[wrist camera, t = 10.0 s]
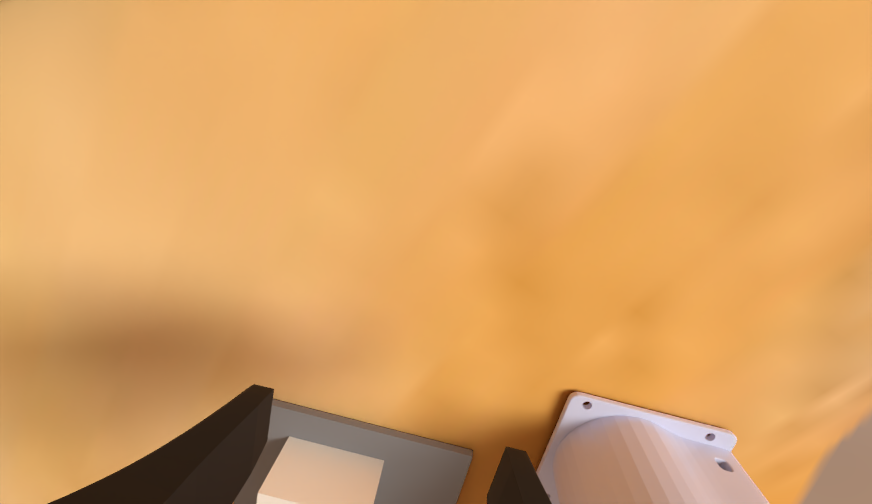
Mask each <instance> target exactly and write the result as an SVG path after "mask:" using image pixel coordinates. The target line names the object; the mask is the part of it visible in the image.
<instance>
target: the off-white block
mask: <svg viewBox="0 0 872 504" xmlns="http://www.w3.org/2000/svg"><path fill="white" fill-rule="evenodd" d="M383 464H384V460H380V459H376V458H372V457H368V456H364V455H360V454H357V453H353V452H349V451H345V450H341V449H337V448H333V447H329V446H325V445H321V444H317V443H313V442H309V441H306V440H302V439H298V438H294V437H290V436H289V438H288V439H287V441H286V443H285V445H284V447H283V448H282V450H281V452H280V454H279V456H278V457H277V459H276V461H275V463H274V465H273V466H272V468H271V470H270V472H269V474H268V475H267V477H266V479H265V481H264V483H263V484H262V486H261V488H260V490H259V492H258V495H257V503H256V504H374V500H375V496H376V492H377V488H378V484H379V480H380V476H381V472H382V468H383Z"/></svg>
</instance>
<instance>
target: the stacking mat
mask: <svg viewBox="0 0 872 504" xmlns="http://www.w3.org/2000/svg"><path fill="white" fill-rule="evenodd" d="M289 436H290V437H294V438H298V439H302V440H306V441H309V442H313V443H317V444H321V445H325V446H329V447H333V448H337V449H341V450H345V451H349V452H353V453H357V454H360V455H364V456H368V457H372V458H376V459H380V460H384V464H383V468H382V472H381V476H380V480H379V484H378V488H377V492H376V496H375V500H374V504H456V503H457V500H458V497H459V494H460V491H461V488H462V486H463V483H464V480H465V477H466V474H467V471H468V469H469V466H470V463H471V460H472V457H473V450H470V449H466V448H462V447H459V446H455V445H451V444H447V443H443V442H439V441H435V440H431V439H427V438H423V437H419V436H416V435H412V434H408V433H404V432H400V431H396V430H392V429H388V428H384V427H380V426H377V425H373V424H369V423H365V422H361V421H357V420H353V419H349V418H345V417H341V416H338V415H334V414H330V413H326V412H322V411H318V410H314V409H310V408H306V407H302V406H298V405H295V404H291V403H287V402H283V401H279V400H275V399H273V400H272V408H271V416H270V424H269V431H268V439H267V443H266V445H265V447H264V449H263V451H262V453H261V455H260V457H259V459H258V461H257V463H256V465H255V467H254V469H253V471H252V473H251V475H250V476H249V478H248V480H247V481H246V483H245V484H244V486H243V488H242V489H241V491H240V492H239V494H238V496H237V497H236V499H235V500H234V504H256V503H257V495H258V492H259V490H260V488H261V486H262V484H263V483H264V481H265V479H266V477H267V475H268V474H269V472H270V470H271V468H272V466H273V465H274V463H275V461H276V459H277V457H278V456H279V454H280V452H281V450H282V448H283V447H284V445H285V443H286V441H287V439H288V438H289Z"/></svg>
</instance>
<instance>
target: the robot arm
mask: <svg viewBox="0 0 872 504" xmlns="http://www.w3.org/2000/svg"><path fill="white" fill-rule="evenodd" d="M273 393H274V389H271V388H267V387H263V386H259V385H255V384H254V385H252V386H250V387H249V388H247V389H246V390H245V391H243V392H242V393H241V394H239V395H238V396H237V397H235V398H234V399H233V400H231V401H230V402H228V403H227V404H226V405H224V406H223V407H221V408H220V409H219V410H217V411H216V412H214V413H213V414H212V415H210V416H209V417H207V418H206V419H204V420H203V421H201V422H200V423H198V424H197V425H195V426H194V427H192V428H191V429H189V430H188V431H186V432H185V433H183V434H181V435H180V436H178V437H177V438H175V439H173V440H172V441H170V442H169V443H167V444H165V445H164V446H162V447H160V448H159V449H157V450H155V451H154V452H152V453H150V454H149V455H147V456H145V457H143V458H141V459H140V460H138V461H136V462H134V463H132V464H131V465H129V466H127V467H125V468H123V469H121V470H119V471H117V472H115V473H113V474H111V475H109V476H107V477H105V478H103V479H101V480H99V481H97V482H95V483H93V484H91V485H89V486H86V487H84V488H82V489H80V490H78V491H76V492H73V493H71V494H69V495H67V496H65V497H62V498H60V499H58V500H55V501H53V502H50V503H48V504H232V503H233V502H234V500H235V499H236V497H237V496H238V494H239V492H240V491H241V489H242V488H243V486H244V484H245V483H246V481H247V480H248V478H249V476H250V475H251V473H252V471H253V469H254V467H255V465H256V463H257V461H258V459H259V457H260V455H261V453H262V451H263V449H264V447H265V445H266V443H267V439H268V431H269V424H270V416H271V408H272V400H273ZM584 402H590V403H589V404H587V405H583V403H584ZM709 433H711V434H710V435H707V434H709ZM706 435H707V436H706ZM736 442H737V438H736V436H735V435H734V434H733V433H732V432H731V431H729V430H726V429H722V428H718V427H714V426H710V425H707V424H703V423H699V422H695V421H691V420H687V419H683V418H679V417H675V416H672V415H668V414H664V413H660V412H656V411H652V410H648V409H644V408H640V407H636V406H633V405H629V404H625V403H621V402H617V401H613V400H609V399H605V398H601V397H597V396H594V395H590V394H586V393H582V392H573V393H571V394H570V395H569V397H568V399H567V401H566V403H565V406H564V408H563V410H562V413H561V415H560V417H559V420H558V422H557V424H556V427H555V429H554V431H553V434H552V436H551V438H550V441H549V443H548V445H547V448H546V450H545V452H544V455H543V457H542V460H541V462H540V464H539V467H538V469H537V471H535V469H534V467H533V465H532V463H531V461H530V459H529V457H528V455H527V453H526V451H522V450H518V449H514V448H510V447H506V448H505V451H504V453H503V456H502V458H501V461H500V464H499V466H498V469H497V471H496V474H495V476H494V479H493V482H492V484H491V487H490V489H489V492H488V495H487V504H770V503H769V502H768V501H767V499H766V498H765V497H764V495H763V494H762V493H761V491H760V490H759V489H758V487H757V486H756V485H755V483H754V482H753V481H752V479H751V478H750V477H749V475H748V474H747V473H746V471H745V470H744V469H743V467H742V466H741V465H740V463H739V462H738V461H737V459H736V458H735V457H734V455H733V454H732V453H731V451H732V449H733V447H734V446H735V444H736Z"/></svg>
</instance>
